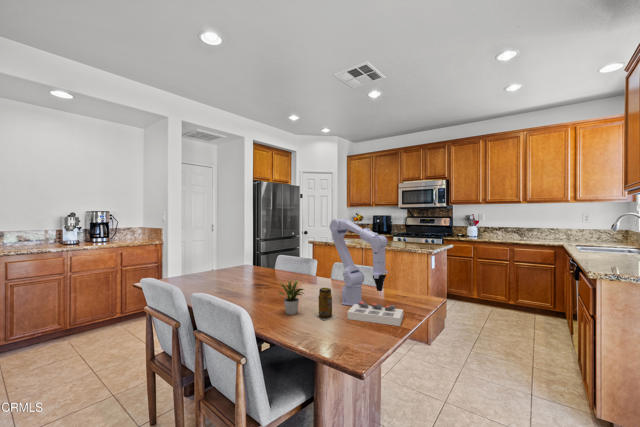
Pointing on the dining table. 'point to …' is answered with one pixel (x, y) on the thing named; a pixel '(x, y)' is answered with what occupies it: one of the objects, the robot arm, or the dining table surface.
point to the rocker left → (363, 304)
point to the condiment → (325, 304)
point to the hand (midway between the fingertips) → (379, 290)
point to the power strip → (375, 315)
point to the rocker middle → (376, 306)
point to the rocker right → (390, 307)
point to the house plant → (291, 297)
